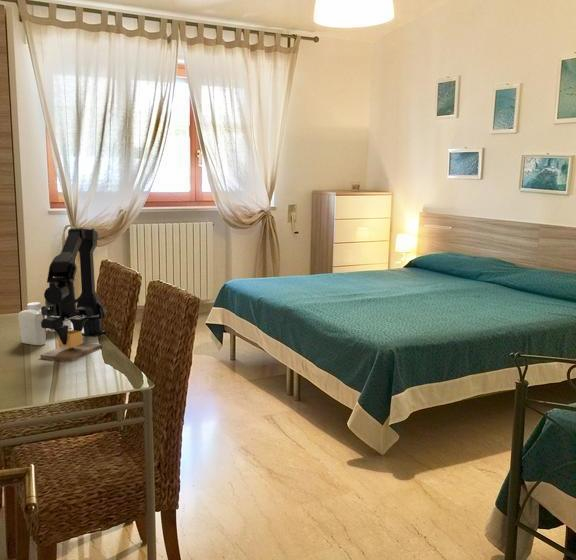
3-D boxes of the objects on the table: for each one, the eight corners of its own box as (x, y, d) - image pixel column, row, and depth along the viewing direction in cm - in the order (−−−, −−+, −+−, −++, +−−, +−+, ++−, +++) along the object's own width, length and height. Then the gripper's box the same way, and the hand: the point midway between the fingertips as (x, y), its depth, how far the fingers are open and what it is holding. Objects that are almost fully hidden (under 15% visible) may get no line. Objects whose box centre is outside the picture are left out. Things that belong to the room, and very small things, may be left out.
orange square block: (70, 341, 209) (69, 329, 208) (82, 343, 207) (81, 330, 206) (59, 346, 204) (57, 333, 203) (71, 348, 202) (70, 335, 201)
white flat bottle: (19, 343, 219) (15, 310, 217) (29, 340, 223) (25, 307, 221) (38, 346, 214) (34, 312, 212) (48, 343, 218) (44, 310, 216)
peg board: (75, 344, 216) (73, 327, 214) (101, 347, 211) (100, 330, 210) (40, 358, 201) (38, 340, 200) (68, 361, 196) (66, 343, 195)
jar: (73, 325, 241) (70, 296, 239) (69, 331, 233) (66, 300, 231) (49, 327, 240) (46, 297, 238) (45, 332, 232) (41, 302, 230)
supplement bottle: (40, 339, 223) (36, 305, 220) (24, 339, 224) (20, 305, 222) (50, 334, 229) (47, 301, 227) (35, 334, 231) (31, 301, 228)
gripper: (67, 289, 214) (72, 332, 217) (25, 301, 197) (31, 347, 200) (92, 291, 209) (96, 335, 212) (51, 304, 193) (57, 351, 196)
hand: (70, 342), depth 205 cm, fingers closed on orange square block, 5 cm apart
